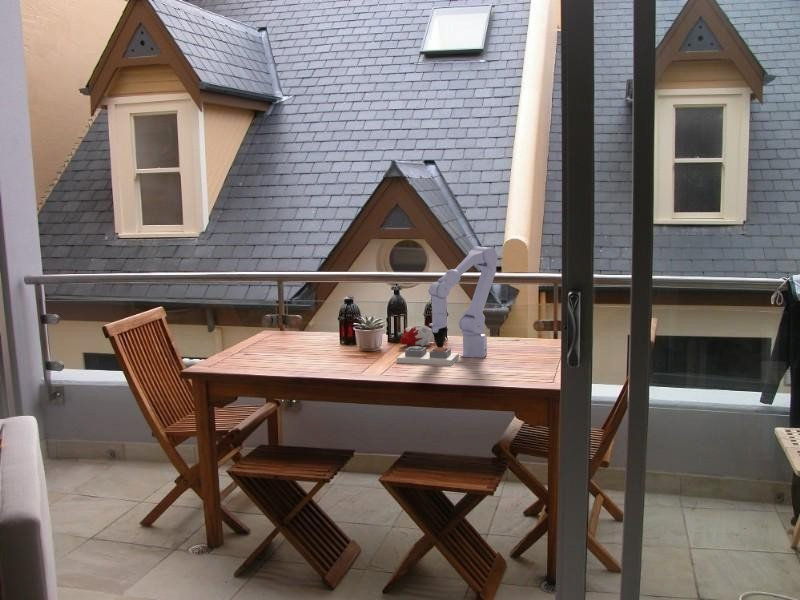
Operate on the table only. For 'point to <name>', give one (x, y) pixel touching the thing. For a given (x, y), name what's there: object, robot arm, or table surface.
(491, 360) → the table surface
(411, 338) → the white red irregular piece
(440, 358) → the button panel
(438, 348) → the terracotta button
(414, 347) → the grey low dome
